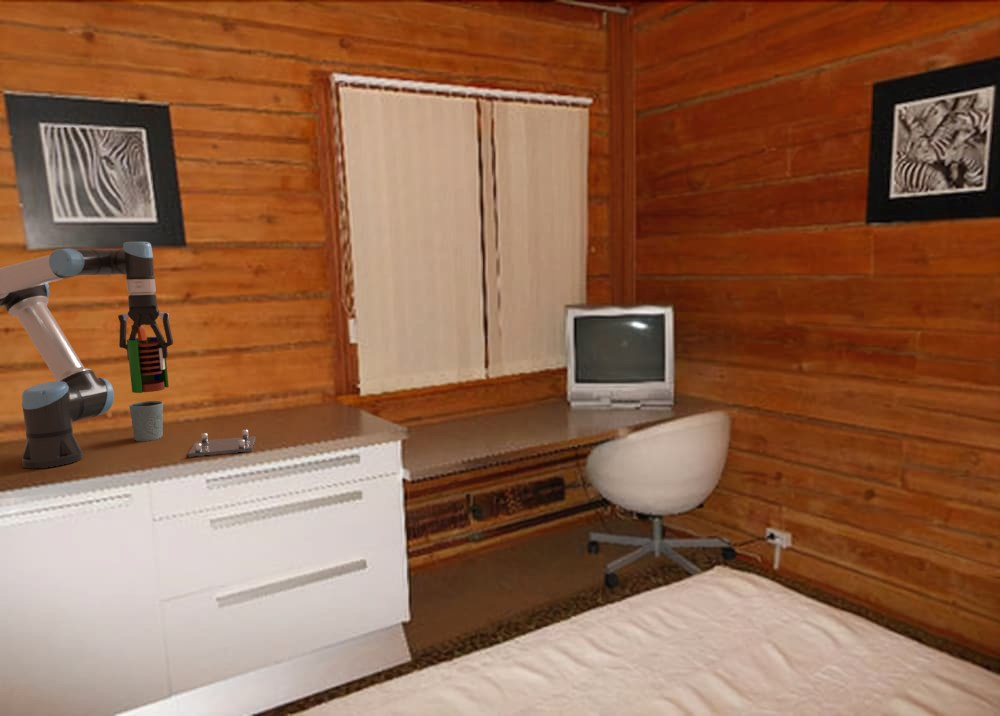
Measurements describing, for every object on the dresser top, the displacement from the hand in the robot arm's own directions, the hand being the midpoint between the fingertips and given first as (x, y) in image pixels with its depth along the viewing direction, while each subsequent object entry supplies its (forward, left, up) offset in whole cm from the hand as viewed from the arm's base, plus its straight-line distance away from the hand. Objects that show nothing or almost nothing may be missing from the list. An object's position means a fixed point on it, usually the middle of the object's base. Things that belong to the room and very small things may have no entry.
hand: (149, 369), depth 208 cm
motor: (0, 0, -6) cm, 6 cm away
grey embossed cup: (-7, +24, -27) cm, 36 cm away
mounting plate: (+19, 0, -26) cm, 33 cm away
